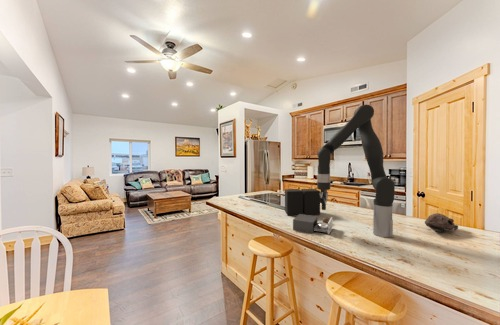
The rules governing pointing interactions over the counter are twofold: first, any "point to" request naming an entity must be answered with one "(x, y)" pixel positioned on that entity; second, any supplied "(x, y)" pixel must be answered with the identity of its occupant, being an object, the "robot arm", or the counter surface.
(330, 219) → the drawer
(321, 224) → the disc
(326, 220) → the brown rounded cylinder
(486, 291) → the counter surface
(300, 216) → the cylinder
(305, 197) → the speaker
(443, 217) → the brown toy animal
